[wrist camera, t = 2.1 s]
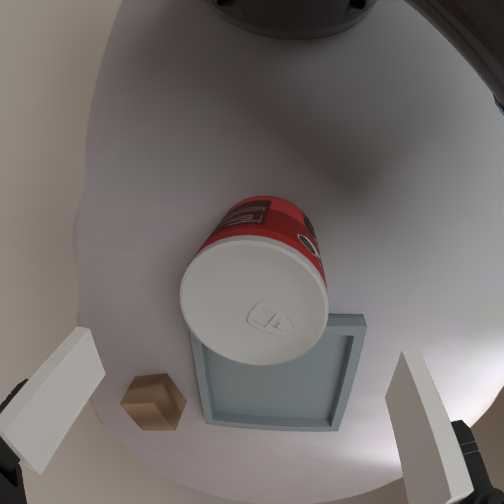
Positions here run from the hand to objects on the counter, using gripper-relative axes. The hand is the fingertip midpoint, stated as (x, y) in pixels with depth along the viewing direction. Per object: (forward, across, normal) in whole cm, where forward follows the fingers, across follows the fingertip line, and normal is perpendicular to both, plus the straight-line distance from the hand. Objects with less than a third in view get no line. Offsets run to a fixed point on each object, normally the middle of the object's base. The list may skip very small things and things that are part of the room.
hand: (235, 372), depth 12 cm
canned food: (+16, 0, 0) cm, 16 cm away
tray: (+15, +1, -15) cm, 21 cm away
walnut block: (+16, -13, -20) cm, 28 cm away
